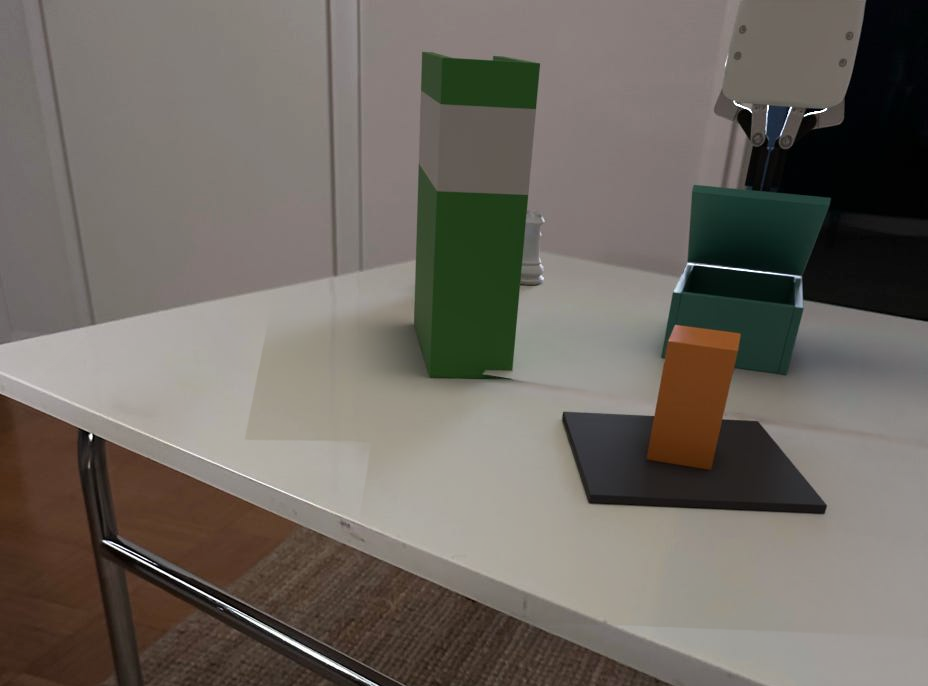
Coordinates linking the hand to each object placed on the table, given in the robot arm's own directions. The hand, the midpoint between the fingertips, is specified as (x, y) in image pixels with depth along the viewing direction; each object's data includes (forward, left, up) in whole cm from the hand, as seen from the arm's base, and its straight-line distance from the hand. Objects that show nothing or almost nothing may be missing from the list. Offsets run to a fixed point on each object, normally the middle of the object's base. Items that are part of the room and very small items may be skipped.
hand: (759, 196), depth 82 cm
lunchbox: (-1, -3, -15) cm, 15 cm away
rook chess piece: (+17, -31, -15) cm, 38 cm away
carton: (+10, +26, -14) cm, 31 cm away
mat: (+10, +26, -15) cm, 32 cm away
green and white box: (+26, 0, -15) cm, 30 cm away
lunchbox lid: (-1, -3, -4) cm, 5 cm away
